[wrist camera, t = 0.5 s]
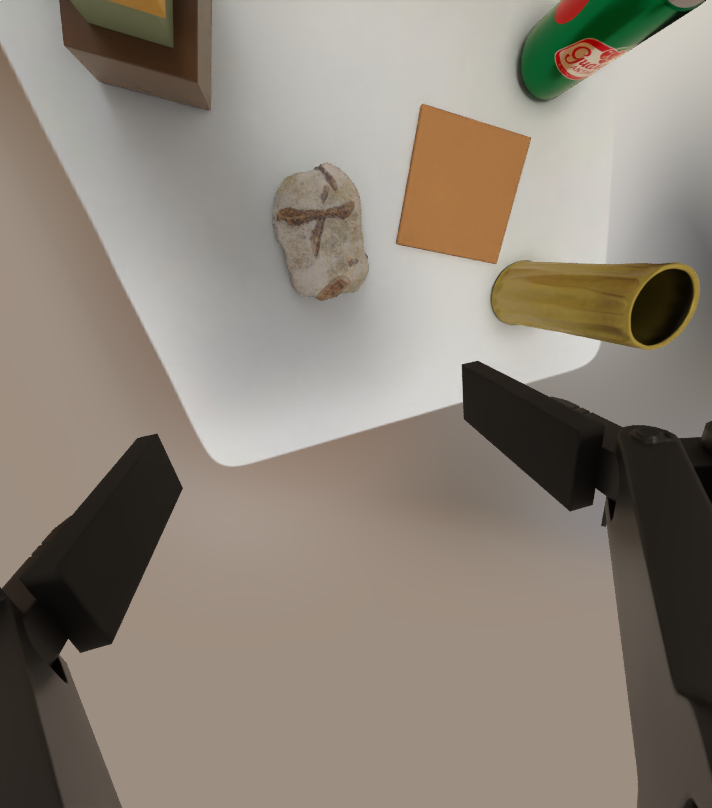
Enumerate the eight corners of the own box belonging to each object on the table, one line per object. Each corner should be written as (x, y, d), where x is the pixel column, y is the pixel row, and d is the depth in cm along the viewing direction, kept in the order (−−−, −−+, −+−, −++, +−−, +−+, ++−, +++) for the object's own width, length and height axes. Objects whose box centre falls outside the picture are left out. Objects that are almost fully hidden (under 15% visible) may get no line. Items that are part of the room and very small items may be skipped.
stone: (258, 185, 26) (256, 177, 24) (347, 161, 27) (353, 150, 25) (298, 307, 30) (299, 310, 28) (375, 284, 31) (383, 285, 28)
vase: (505, 336, 35) (634, 375, 22) (480, 286, 33) (608, 297, 20) (554, 299, 35) (714, 317, 22) (532, 246, 32) (698, 231, 19)
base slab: (87, -64, 20) (44, -138, 17) (212, -21, 22) (197, -79, 18) (98, 81, 23) (63, 45, 19) (210, 111, 24) (197, 83, 21)
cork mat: (420, 105, 27) (422, 103, 26) (528, 139, 29) (531, 137, 29) (396, 243, 30) (397, 243, 30) (494, 263, 32) (496, 263, 32)
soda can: (512, 102, 28) (661, -8, 17) (520, 19, 26) (694, -167, 15) (566, 103, 29) (742, -1, 18) (578, 23, 27) (784, -150, 16)
